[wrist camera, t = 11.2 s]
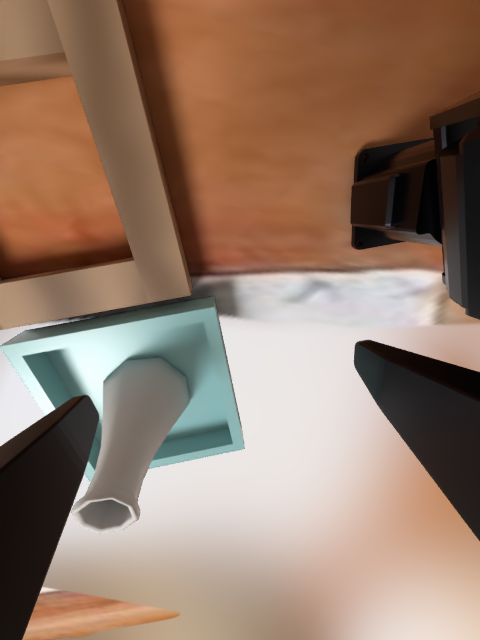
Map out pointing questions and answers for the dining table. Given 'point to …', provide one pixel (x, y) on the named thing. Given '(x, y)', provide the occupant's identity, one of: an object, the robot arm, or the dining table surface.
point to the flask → (130, 439)
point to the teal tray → (133, 344)
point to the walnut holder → (115, 153)
